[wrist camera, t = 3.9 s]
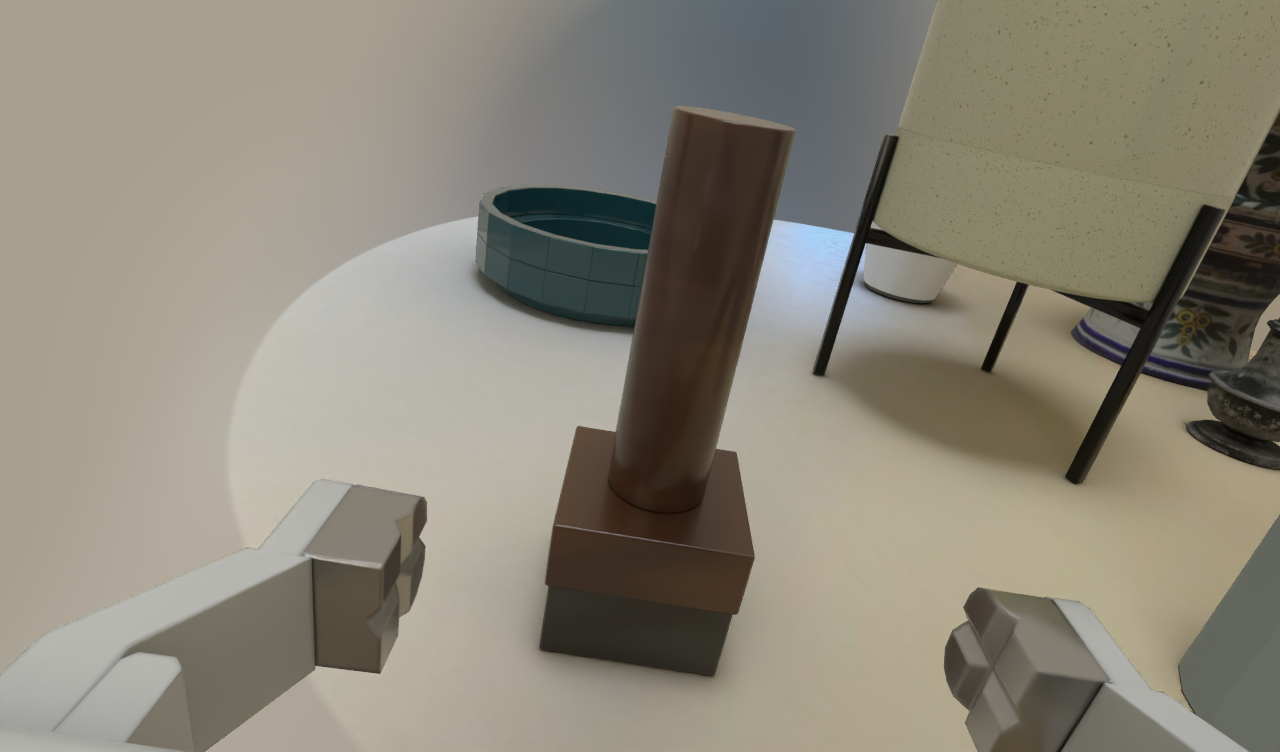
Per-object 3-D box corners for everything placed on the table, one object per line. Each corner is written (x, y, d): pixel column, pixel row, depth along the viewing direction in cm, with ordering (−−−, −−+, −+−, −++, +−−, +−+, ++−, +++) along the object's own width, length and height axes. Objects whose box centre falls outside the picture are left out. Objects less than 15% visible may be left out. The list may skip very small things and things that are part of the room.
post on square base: (534, 652, 19) (613, 104, 13) (560, 535, 24) (627, 90, 18) (718, 680, 20) (877, 152, 14) (708, 558, 24) (823, 126, 18)
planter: (803, 328, 48) (914, -57, 39) (1035, 377, 47) (1208, -4, 38) (826, 433, 34) (1008, -125, 25) (1154, 504, 34) (1476, -45, 24)
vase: (1146, 398, 47) (1429, -134, 35) (999, 307, 63) (1159, -84, 50) (1342, 419, 50) (1669, -63, 38) (1156, 328, 66) (1345, -37, 53)
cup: (956, 323, 56) (1000, 207, 52) (832, 289, 59) (866, 177, 55) (957, 294, 64) (995, 193, 61) (849, 265, 67) (879, 168, 64)
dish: (430, 292, 43) (434, 211, 40) (526, 236, 57) (533, 174, 55) (696, 356, 41) (715, 274, 38) (724, 281, 56) (739, 218, 53)
